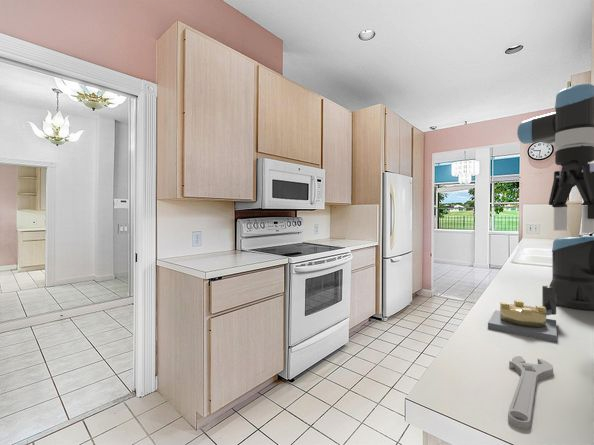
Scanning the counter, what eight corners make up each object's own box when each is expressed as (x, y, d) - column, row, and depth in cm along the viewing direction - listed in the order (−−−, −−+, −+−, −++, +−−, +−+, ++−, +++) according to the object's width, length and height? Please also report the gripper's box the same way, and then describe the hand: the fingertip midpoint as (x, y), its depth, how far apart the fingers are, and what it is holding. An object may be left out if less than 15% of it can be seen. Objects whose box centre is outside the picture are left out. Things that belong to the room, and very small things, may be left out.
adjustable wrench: (529, 436, 42) (529, 423, 41) (478, 414, 46) (477, 403, 46) (554, 371, 59) (554, 362, 58) (515, 360, 63) (515, 351, 63)
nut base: (494, 310, 95) (494, 305, 95) (555, 320, 86) (555, 315, 86) (483, 327, 81) (483, 321, 81) (556, 342, 71) (556, 335, 71)
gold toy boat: (529, 329, 75) (529, 296, 75) (491, 316, 84) (491, 287, 84) (573, 320, 80) (573, 290, 80) (533, 310, 90) (533, 283, 90)
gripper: (629, 134, 65) (628, 234, 65) (564, 156, 88) (564, 229, 88) (587, 137, 67) (586, 234, 67) (534, 157, 90) (534, 229, 90)
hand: (573, 231), depth 78 cm, fingers open, 12 cm apart
